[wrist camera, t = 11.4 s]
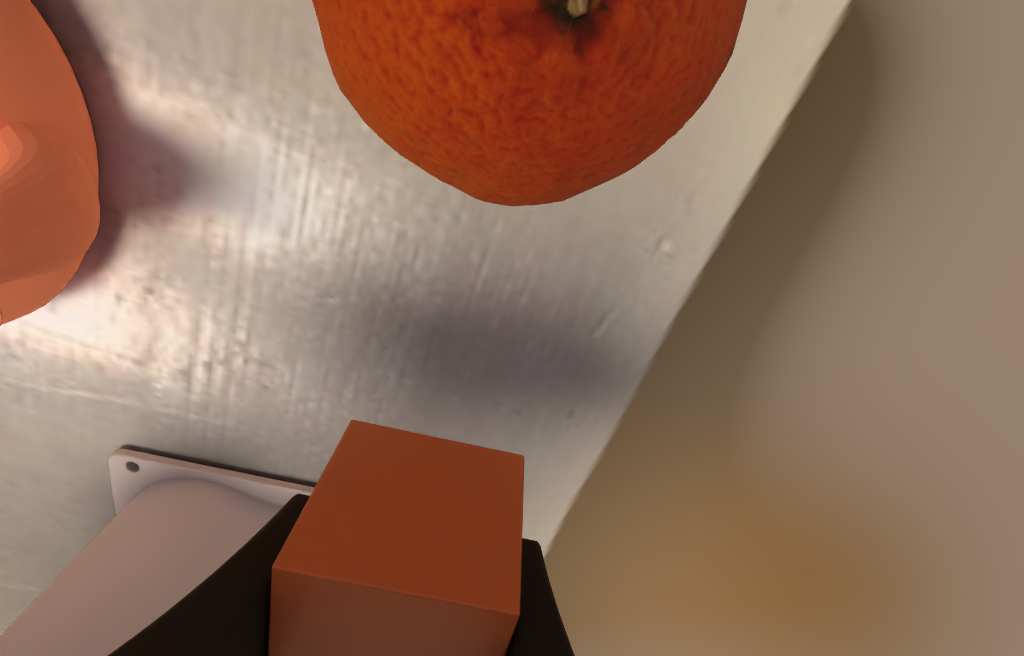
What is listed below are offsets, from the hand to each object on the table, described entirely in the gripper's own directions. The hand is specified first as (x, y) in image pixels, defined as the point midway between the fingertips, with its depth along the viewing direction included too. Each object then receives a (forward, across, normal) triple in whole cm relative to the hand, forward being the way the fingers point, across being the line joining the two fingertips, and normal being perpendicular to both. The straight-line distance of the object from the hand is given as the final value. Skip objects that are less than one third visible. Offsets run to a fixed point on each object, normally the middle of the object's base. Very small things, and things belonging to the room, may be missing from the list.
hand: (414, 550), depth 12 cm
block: (+1, 0, 0) cm, 1 cm away
